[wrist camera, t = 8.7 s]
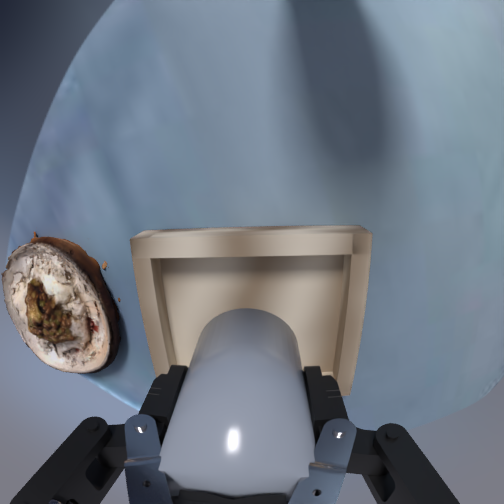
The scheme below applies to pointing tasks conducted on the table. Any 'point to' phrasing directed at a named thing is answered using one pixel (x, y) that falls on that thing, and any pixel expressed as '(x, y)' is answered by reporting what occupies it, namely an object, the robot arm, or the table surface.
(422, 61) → the table surface
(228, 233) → the birch tray
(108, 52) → the table surface
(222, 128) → the table surface
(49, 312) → the stuffed round slice
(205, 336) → the grey rounded cylinder
